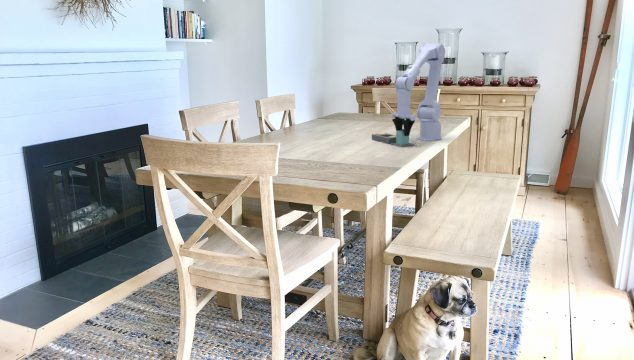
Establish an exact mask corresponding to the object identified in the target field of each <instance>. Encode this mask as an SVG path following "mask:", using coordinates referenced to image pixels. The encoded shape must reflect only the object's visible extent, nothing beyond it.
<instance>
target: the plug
mask: <svg viewBox="0 0 634 360" xmlns="http://www.w3.org/2000/svg"><path fill="white" fill-rule="evenodd" d="M395 131H396V132H395V133H396V134H395V135H396V144H399V145H406V144H409V143H410V135H409V136H405V135H404V128H402V129H401V130H396V129H395Z"/></svg>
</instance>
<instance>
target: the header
mask: <svg viewBox="0 0 634 360" xmlns="http://www.w3.org/2000/svg"><path fill="white" fill-rule="evenodd" d="M371 140H373V141H377V142H380V143H384V144H387V145H388V144H389V145H391V144H390V143H396V134H392V133H388V132H379V133H372V134H371Z"/></svg>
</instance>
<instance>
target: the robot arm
mask: <svg viewBox="0 0 634 360" xmlns="http://www.w3.org/2000/svg"><path fill="white" fill-rule="evenodd" d="M445 54H446V49H445V45H444V44H443V43H440V42H439V43H422V45H421V46H420V47H419V54H418V55H417V57H416V59H415V61H414V62H413V64H409V65H408V66H407V68H406V69H405V71H404V72H403V74H402V75H401V76H398V77H397V78H396V79H395V83H394V88H395V90H396V91H395V92H396V94H397V97H396V100H397V102H396V106H397V107H396V112H392V113H391V117H392V119H391V120H392V122H393V125H394V127H395V131H396V130H401V129H404V135H405V136H409V137H410V134H411V131H412V127H413V125H414V124H415V121H416V117H417V118H418V120H419V123H420V124H419V126H420V129H419V137H416V138H415V139H416V140H420V141H423V142H431V141H439V140H440V141H441V140H442V139H443V138H442V124H441V122H440V120H439V119H440V117H441V104H440V103H439V102H438V101H437V97H438V90H439V83H440V79H441V72H442V65H443V63H444V60H445ZM425 63H427V64H428V65H429V69H428V75H427V80H426V81H427V82H426V88H425V94H424V99H423V100H422V101H420V102H419V105H418V108H417V110H416V115H413V114H411V99H412V98H411V97H412V95H411V94H412V92H411V91H412V90H413V88H414V86H415V82H416V79H417V78H418V76H419V75H420V73H421V70H420V69H421V68H422V67H423V66H424V64H425Z"/></svg>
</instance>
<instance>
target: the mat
mask: <svg viewBox="0 0 634 360" xmlns="http://www.w3.org/2000/svg"><path fill="white" fill-rule="evenodd" d="M389 145H391V146H396V147H399V148H403V147H404V148H405V147H413V146H416V144H415V143H411V142H409V144H406V145H399V144H396V143H390V144H389Z"/></svg>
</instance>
